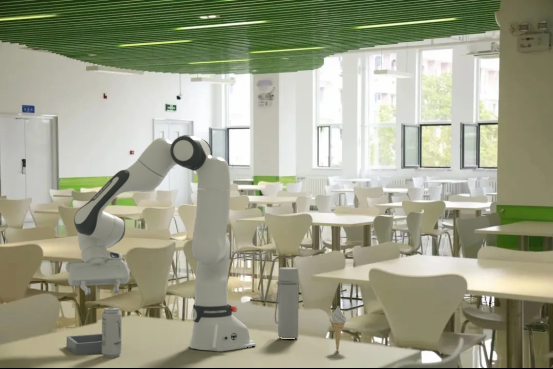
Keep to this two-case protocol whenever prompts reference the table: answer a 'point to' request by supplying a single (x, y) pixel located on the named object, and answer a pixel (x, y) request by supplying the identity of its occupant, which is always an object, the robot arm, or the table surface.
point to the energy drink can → (111, 332)
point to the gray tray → (85, 344)
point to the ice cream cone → (337, 324)
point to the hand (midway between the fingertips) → (102, 293)
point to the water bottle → (287, 302)
